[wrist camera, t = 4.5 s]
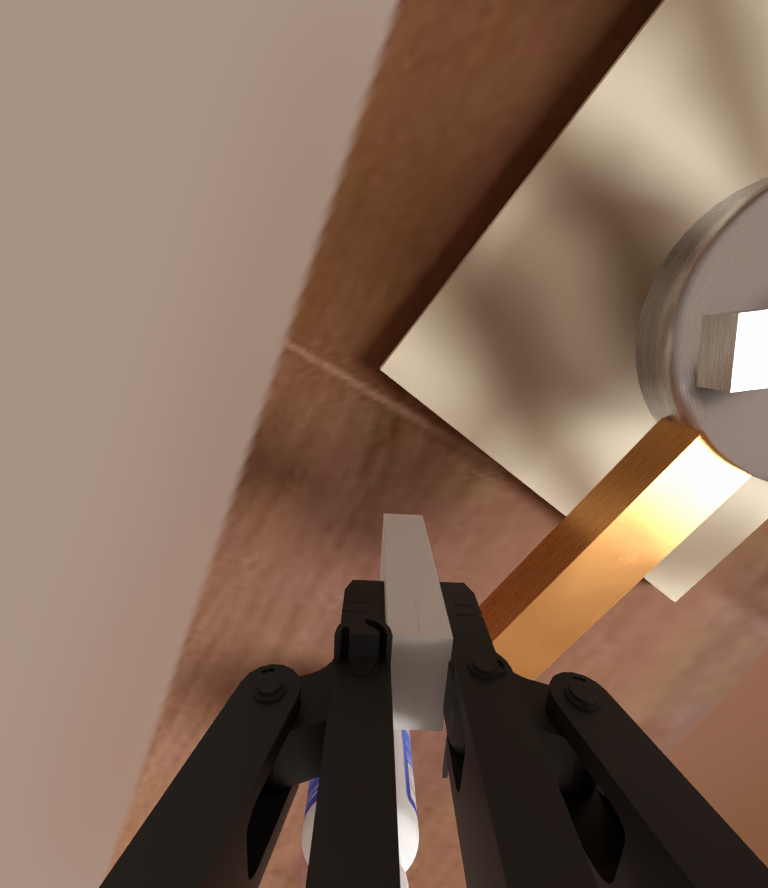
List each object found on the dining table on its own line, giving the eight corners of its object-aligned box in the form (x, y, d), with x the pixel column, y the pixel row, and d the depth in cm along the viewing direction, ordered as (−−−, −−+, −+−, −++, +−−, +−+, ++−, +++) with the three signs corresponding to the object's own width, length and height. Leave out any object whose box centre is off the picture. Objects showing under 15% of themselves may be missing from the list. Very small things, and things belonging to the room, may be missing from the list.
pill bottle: (302, 710, 25) (258, 933, 16) (359, 656, 24) (348, 859, 15) (368, 754, 26) (363, 987, 17) (426, 703, 25) (454, 921, 16)
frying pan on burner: (807, 93, 13) (1010, -19, 9) (979, 304, 14) (1214, 294, 10) (387, 570, 17) (390, 646, 13) (560, 688, 19) (611, 788, 15)
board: (696, -45, 16) (836, -210, 11) (972, 292, 19) (1168, 280, 15) (380, 367, 20) (381, 378, 15) (656, 585, 23) (729, 651, 19)
